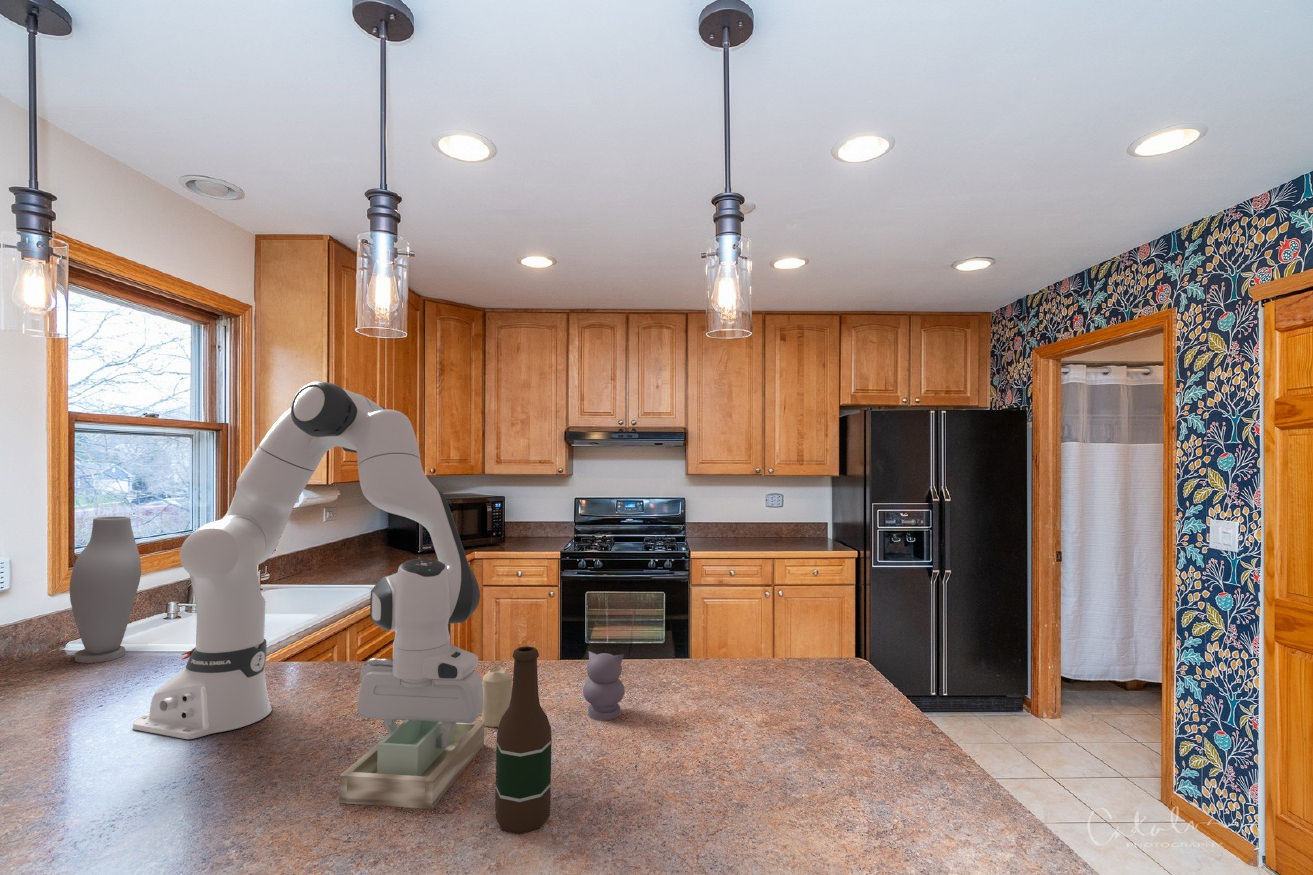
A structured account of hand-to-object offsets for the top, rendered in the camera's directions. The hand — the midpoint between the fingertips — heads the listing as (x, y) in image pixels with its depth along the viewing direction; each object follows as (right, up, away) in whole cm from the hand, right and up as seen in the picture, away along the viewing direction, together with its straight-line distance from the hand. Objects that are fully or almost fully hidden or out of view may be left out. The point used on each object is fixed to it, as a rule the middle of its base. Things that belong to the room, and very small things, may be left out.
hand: (419, 745), depth 101 cm
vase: (-100, -5, +54) cm, 114 cm away
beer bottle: (+20, -4, -13) cm, 24 cm away
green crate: (0, -2, 0) cm, 2 cm away
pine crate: (0, -4, 0) cm, 4 cm away
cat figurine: (+28, -5, +23) cm, 37 cm away
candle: (+8, -5, +19) cm, 21 cm away
